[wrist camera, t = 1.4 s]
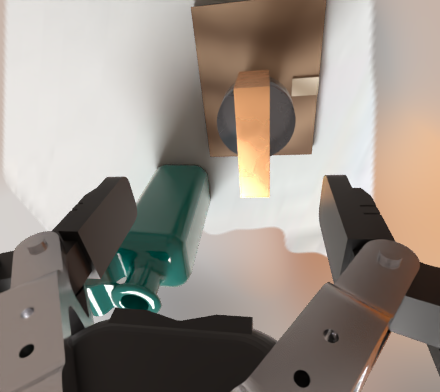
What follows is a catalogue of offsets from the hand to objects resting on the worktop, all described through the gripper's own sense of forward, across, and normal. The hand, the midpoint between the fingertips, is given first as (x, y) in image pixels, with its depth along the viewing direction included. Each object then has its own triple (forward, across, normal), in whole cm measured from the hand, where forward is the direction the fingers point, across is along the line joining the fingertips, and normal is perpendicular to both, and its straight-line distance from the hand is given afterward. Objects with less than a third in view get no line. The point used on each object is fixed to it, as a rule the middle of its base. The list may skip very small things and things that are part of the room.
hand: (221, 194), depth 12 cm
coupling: (+18, -1, +2) cm, 18 cm away
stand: (+28, -1, +2) cm, 28 cm away
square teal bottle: (+29, +12, +17) cm, 36 cm away
